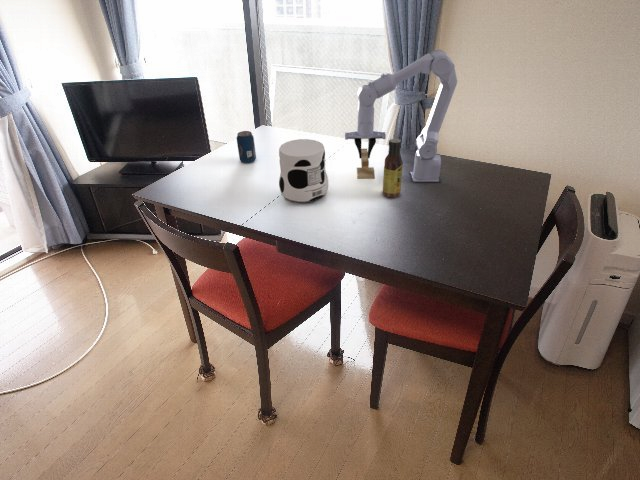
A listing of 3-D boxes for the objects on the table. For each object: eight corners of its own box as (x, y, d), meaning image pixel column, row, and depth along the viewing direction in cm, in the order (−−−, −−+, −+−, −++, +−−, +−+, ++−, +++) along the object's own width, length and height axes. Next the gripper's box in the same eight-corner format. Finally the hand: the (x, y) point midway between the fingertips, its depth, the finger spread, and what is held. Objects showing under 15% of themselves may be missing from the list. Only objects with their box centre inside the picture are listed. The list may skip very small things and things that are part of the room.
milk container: (290, 181, 159) (287, 136, 149) (334, 186, 155) (333, 140, 145) (272, 203, 146) (267, 155, 136) (320, 209, 141) (318, 160, 131)
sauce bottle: (399, 199, 146) (404, 145, 134) (381, 198, 147) (384, 144, 135) (400, 190, 151) (405, 137, 139) (383, 189, 152) (386, 136, 141)
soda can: (238, 159, 178) (233, 132, 171) (253, 156, 180) (250, 129, 173) (242, 165, 173) (238, 137, 166) (258, 162, 175) (255, 134, 168)
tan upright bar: (374, 178, 144) (375, 171, 142) (357, 179, 144) (357, 171, 142) (371, 155, 160) (371, 148, 158) (355, 155, 160) (356, 148, 159)
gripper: (385, 117, 150) (383, 152, 158) (345, 117, 151) (344, 153, 159) (387, 124, 145) (384, 160, 152) (345, 124, 145) (345, 160, 153)
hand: (364, 157), depth 155 cm, fingers closed on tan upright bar, 2 cm apart
